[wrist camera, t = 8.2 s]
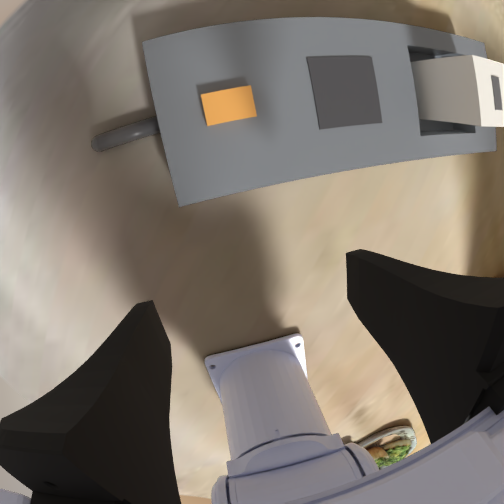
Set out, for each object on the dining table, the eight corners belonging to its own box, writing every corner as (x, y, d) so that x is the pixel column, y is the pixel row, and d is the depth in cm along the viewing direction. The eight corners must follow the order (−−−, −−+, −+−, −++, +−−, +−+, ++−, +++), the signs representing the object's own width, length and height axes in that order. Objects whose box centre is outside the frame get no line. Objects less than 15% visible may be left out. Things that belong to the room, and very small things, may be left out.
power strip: (459, 45, 16) (489, 42, 13) (471, 145, 20) (501, 152, 17) (80, 78, 14) (57, 70, 11) (114, 213, 18) (97, 232, 15)
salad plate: (290, 462, 34) (298, 489, 30) (407, 401, 33) (423, 425, 29) (328, 488, 43) (336, 507, 38) (414, 443, 42) (425, 461, 38)
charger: (444, 117, 18) (515, 127, 12) (407, 118, 18) (482, 126, 12) (438, 67, 17) (508, 64, 10) (399, 64, 16) (473, 54, 10)
